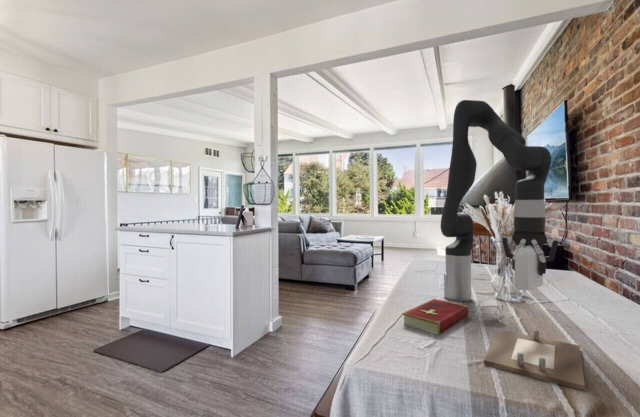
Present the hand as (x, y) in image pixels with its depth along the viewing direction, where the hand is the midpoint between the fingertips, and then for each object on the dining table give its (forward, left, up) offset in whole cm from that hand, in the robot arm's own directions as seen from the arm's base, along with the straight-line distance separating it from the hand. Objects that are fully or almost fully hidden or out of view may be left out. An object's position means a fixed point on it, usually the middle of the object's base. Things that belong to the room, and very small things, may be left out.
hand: (529, 273), depth 92 cm
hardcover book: (-24, -7, -17) cm, 31 cm away
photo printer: (0, 0, -4) cm, 4 cm away
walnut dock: (+2, -18, -17) cm, 25 cm away
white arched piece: (-11, +5, -17) cm, 21 cm away
